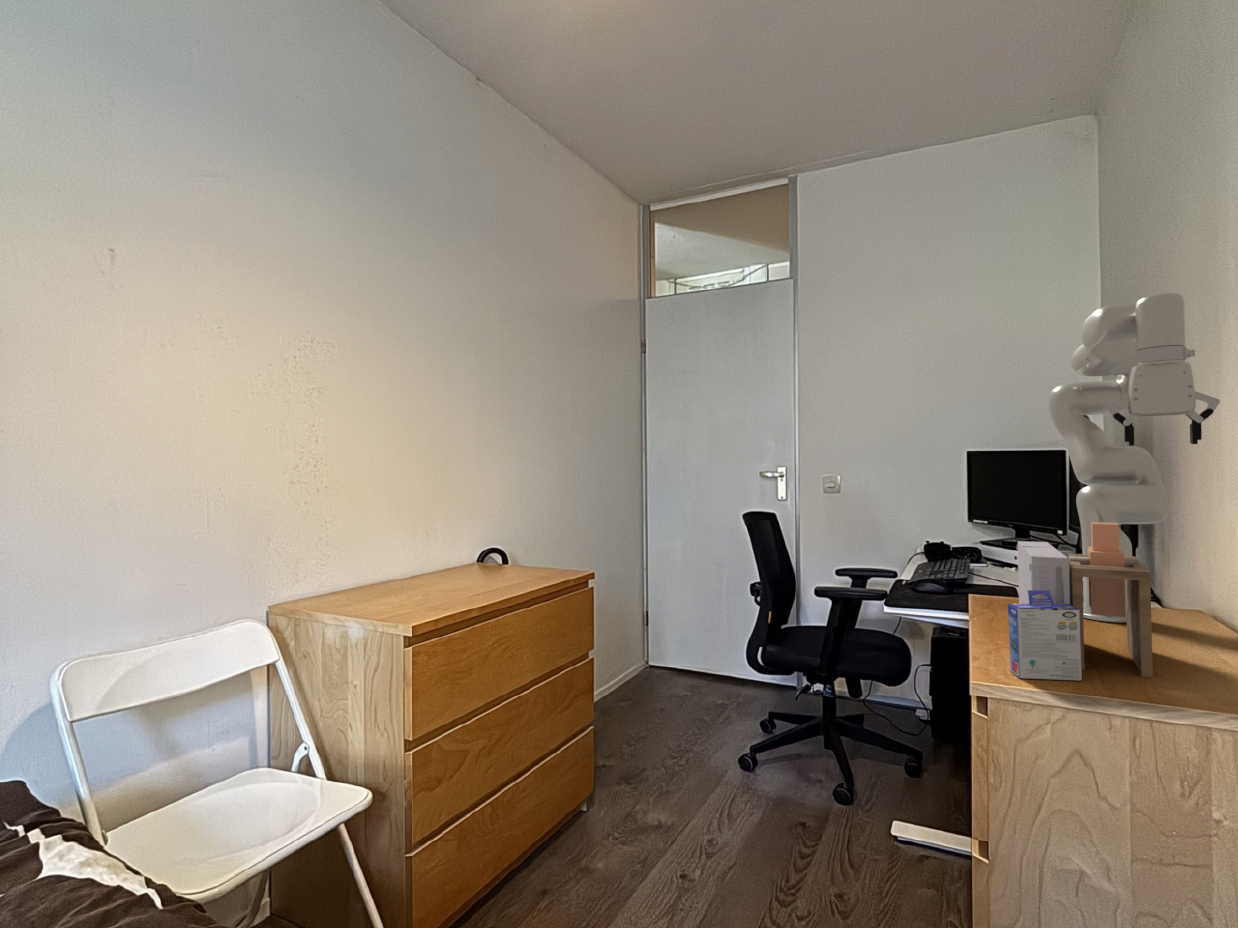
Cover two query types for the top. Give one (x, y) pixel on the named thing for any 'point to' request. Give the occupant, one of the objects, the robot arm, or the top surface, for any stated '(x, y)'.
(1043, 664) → the ink cartridge box
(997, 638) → the top surface
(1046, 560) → the game console
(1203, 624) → the top surface
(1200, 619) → the top surface
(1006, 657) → the top surface
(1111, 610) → the salmon stepped block
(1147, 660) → the wooden rack
